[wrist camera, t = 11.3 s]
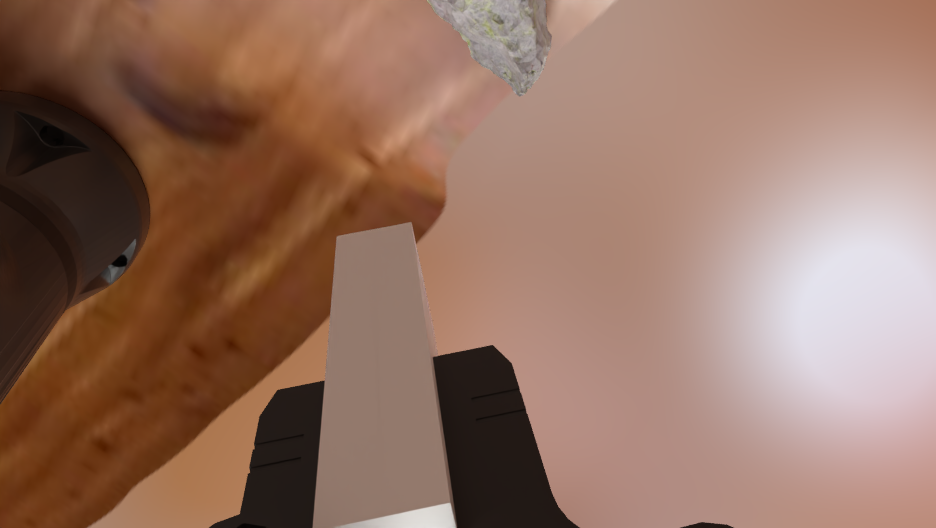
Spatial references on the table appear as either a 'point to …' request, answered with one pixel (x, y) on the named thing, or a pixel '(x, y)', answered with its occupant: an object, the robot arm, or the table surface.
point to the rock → (502, 36)
